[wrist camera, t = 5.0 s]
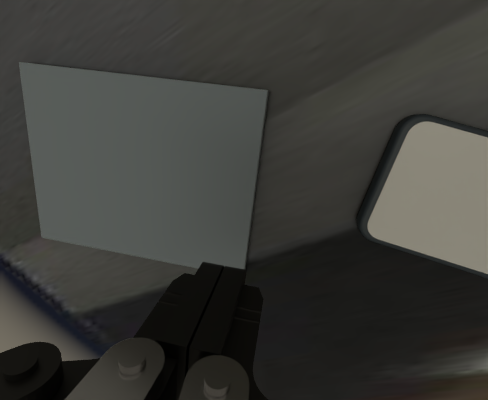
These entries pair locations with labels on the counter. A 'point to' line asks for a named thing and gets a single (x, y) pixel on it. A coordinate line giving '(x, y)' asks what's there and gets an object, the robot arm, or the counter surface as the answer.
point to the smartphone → (432, 194)
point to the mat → (144, 163)
